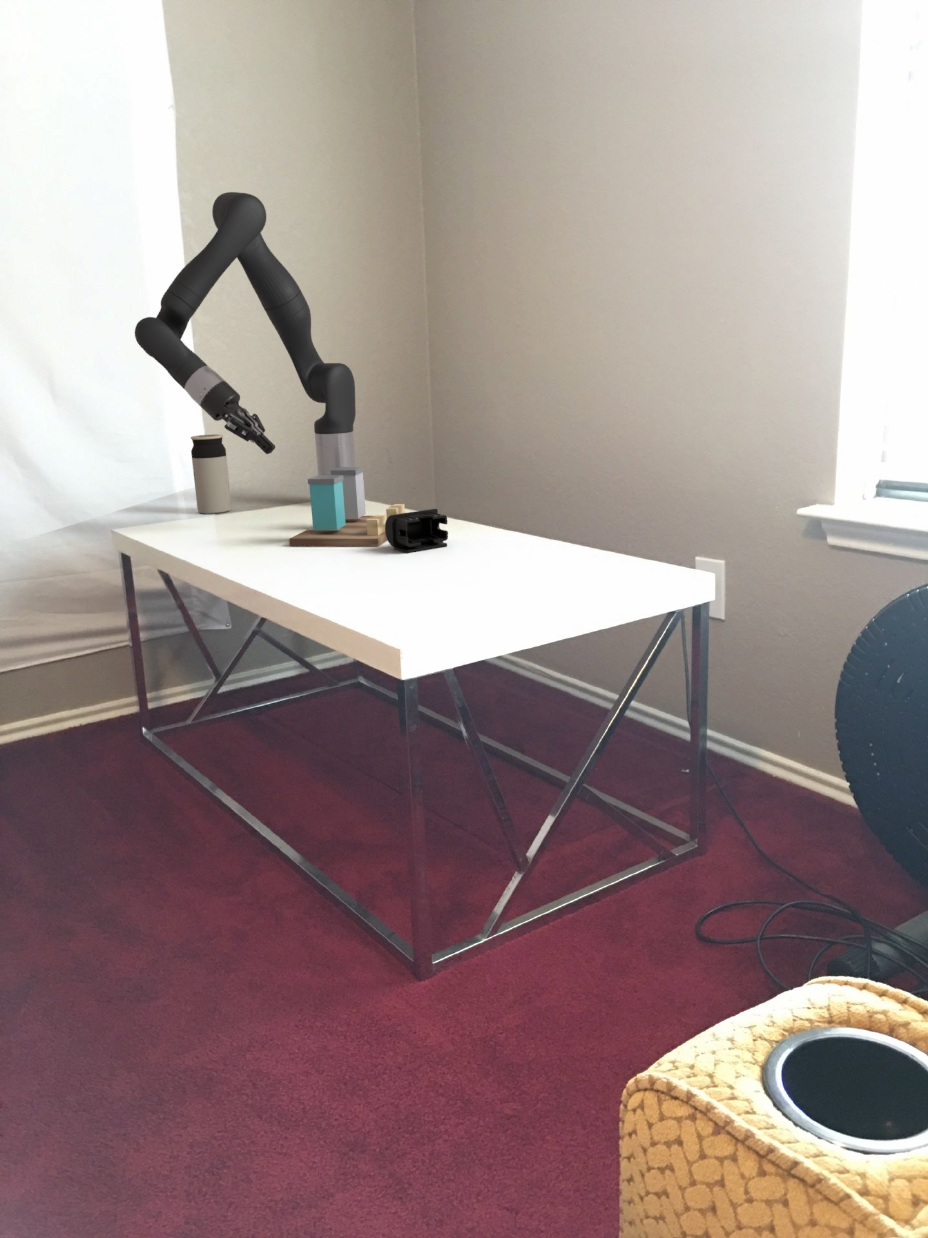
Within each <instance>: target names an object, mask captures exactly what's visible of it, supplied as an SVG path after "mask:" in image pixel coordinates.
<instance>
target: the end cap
mask: <svg viewBox="0 0 928 1238" xmlns="http://www.w3.org/2000/svg"><path fill="white" fill-rule="evenodd" d="M440 524H442V525H448V516H447V515H446V514H441V513H438V508H431V509H424V510H418V511H417V510H416V511H410V512H405V513H402V514H395V515H390V516H389V517H388V518H387V520H386V523H385V533H386V537H387V542H388V544H389V545H390V546H391V547H393V549H394V550H395V551H397V552H400V553H405V554H412V553H418V552H423V551H430V550H436V549H441V548H447V547H448V543H447V542H445V541H447V540H448V539H449V531H448V530H445V529H442V528H440Z"/></svg>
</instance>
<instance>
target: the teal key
mask: <svg viewBox="0 0 928 1238" xmlns="http://www.w3.org/2000/svg"><path fill="white" fill-rule="evenodd" d="M343 480H344V479H343V475H318V474H317V475H315V476H312V477H309V478H308V479H307V484H308V485H309V495H310V508H311V518H312V519H311V521H312V527H313V530H338V529H340V528H341V527H343V526H345V525H346V524H345V510H344V497H343V483H342V481H343Z"/></svg>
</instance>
